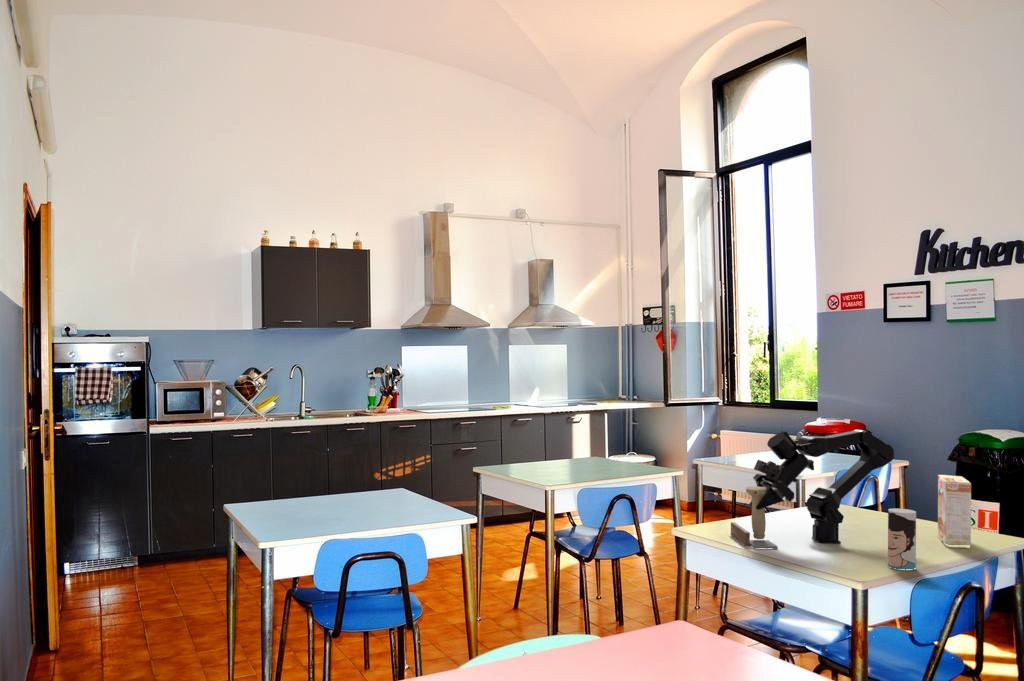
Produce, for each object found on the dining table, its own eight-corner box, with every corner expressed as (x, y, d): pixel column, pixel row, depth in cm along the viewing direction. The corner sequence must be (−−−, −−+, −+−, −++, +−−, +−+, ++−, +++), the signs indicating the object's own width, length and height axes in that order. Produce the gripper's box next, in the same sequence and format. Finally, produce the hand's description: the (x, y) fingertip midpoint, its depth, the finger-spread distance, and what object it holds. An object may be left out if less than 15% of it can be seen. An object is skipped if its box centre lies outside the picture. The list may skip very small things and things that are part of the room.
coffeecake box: (936, 536, 257) (937, 474, 258) (962, 538, 255) (962, 475, 255) (944, 547, 243) (945, 481, 244) (971, 549, 241) (972, 482, 241)
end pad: (768, 542, 245) (768, 540, 245) (777, 549, 237) (777, 546, 237) (745, 542, 245) (745, 539, 245) (754, 549, 237) (754, 546, 237)
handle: (768, 541, 242) (766, 490, 241) (746, 539, 245) (744, 489, 244) (772, 537, 246) (770, 487, 245) (750, 535, 249) (748, 485, 248)
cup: (888, 563, 223) (888, 507, 223) (915, 566, 220) (916, 510, 220) (887, 568, 217) (887, 511, 217) (915, 572, 214) (916, 514, 214)
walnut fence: (734, 535, 255) (734, 522, 255) (749, 546, 240) (749, 532, 240) (730, 535, 255) (730, 522, 255) (745, 546, 240) (745, 532, 240)
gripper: (759, 447, 254) (724, 483, 253) (783, 454, 236) (746, 493, 235) (784, 472, 255) (749, 508, 254) (810, 482, 236) (773, 520, 235)
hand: (753, 507), depth 244 cm, fingers closed on handle, 4 cm apart
